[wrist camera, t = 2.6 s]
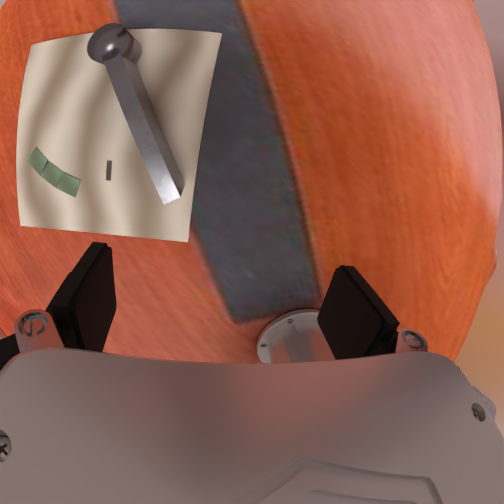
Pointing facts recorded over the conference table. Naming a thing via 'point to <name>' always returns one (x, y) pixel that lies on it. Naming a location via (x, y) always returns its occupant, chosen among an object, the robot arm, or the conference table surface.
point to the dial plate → (109, 135)
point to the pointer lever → (137, 106)
